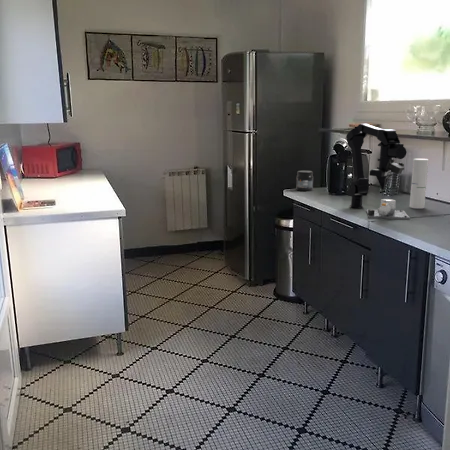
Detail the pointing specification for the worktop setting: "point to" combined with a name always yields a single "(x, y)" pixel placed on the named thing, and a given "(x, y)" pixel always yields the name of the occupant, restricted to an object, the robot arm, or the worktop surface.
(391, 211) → the collar
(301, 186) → the supplement container
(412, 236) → the worktop surface
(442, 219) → the worktop surface
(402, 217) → the flange
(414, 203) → the cylindrical container
